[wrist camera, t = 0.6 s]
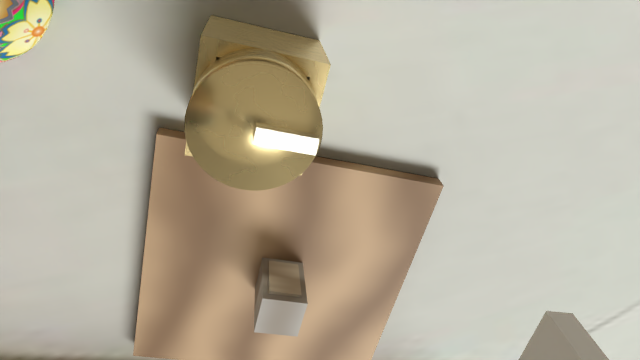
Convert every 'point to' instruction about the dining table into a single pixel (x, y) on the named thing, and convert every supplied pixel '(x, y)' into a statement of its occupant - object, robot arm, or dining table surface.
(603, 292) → the dining table surface
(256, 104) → the knob
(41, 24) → the mug
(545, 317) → the robot arm
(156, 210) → the plate
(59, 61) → the dining table surface
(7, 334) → the dining table surface
